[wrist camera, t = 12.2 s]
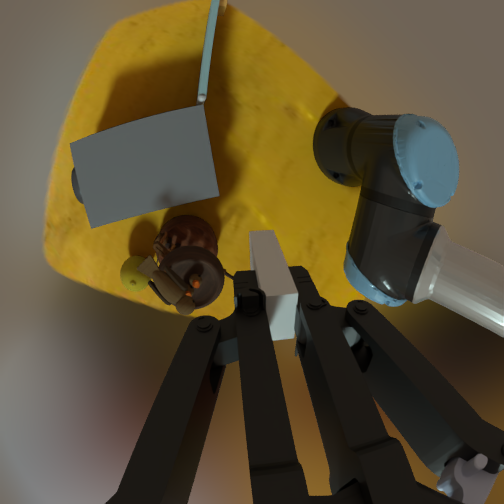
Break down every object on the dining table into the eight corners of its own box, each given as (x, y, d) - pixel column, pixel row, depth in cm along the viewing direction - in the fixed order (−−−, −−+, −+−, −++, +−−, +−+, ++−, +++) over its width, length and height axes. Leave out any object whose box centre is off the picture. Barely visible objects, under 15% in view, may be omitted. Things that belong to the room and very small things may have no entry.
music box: (139, 254, 46) (119, 312, 28) (165, 199, 44) (156, 226, 26) (212, 287, 52) (233, 354, 33) (240, 238, 50) (279, 284, 32)
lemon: (147, 280, 48) (142, 304, 41) (121, 269, 46) (111, 291, 39) (159, 256, 47) (154, 277, 40) (131, 243, 45) (122, 263, 38)
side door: (209, 111, 39) (215, 101, 29) (195, 110, 38) (197, 100, 29) (221, 15, 32) (231, -14, 22) (208, 14, 31) (215, -15, 22)
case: (199, 111, 39) (202, 102, 29) (212, 183, 44) (219, 195, 34) (85, 144, 36) (57, 146, 26) (101, 211, 41) (79, 232, 31)
